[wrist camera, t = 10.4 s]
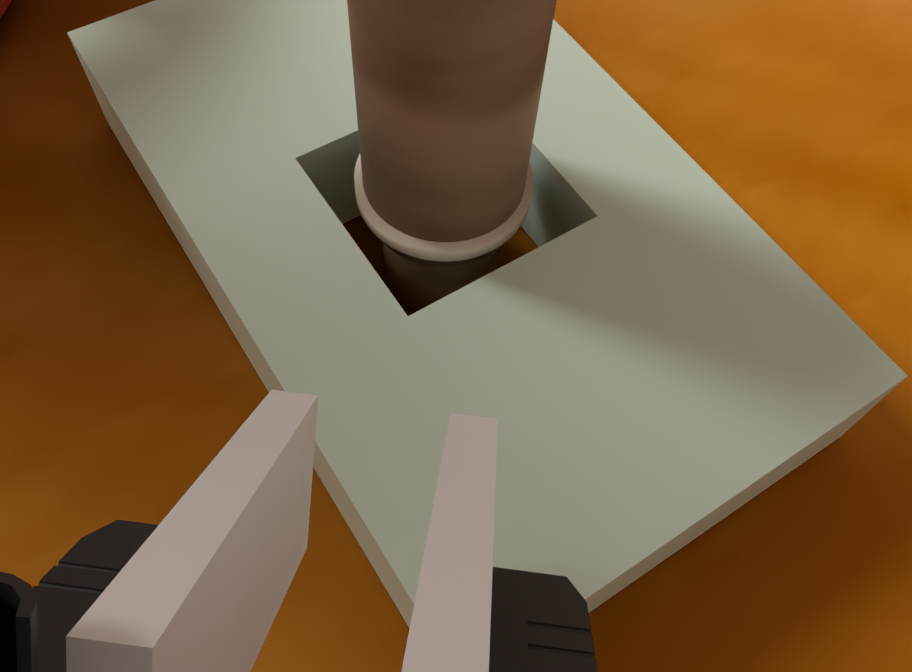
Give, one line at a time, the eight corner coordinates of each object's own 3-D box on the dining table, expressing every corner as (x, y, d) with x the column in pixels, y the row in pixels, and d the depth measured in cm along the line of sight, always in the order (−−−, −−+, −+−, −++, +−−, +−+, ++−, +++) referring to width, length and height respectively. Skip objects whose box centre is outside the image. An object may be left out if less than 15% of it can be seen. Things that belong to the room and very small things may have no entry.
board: (107, 122, 27) (66, 32, 24) (432, -9, 30) (433, -102, 27) (456, 705, 19) (462, 683, 16) (841, 436, 22) (908, 375, 19)
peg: (335, 246, 25) (265, -239, 13) (462, 185, 26) (496, -305, 15) (415, 361, 23) (413, -86, 12) (547, 289, 24) (660, -176, 13)
